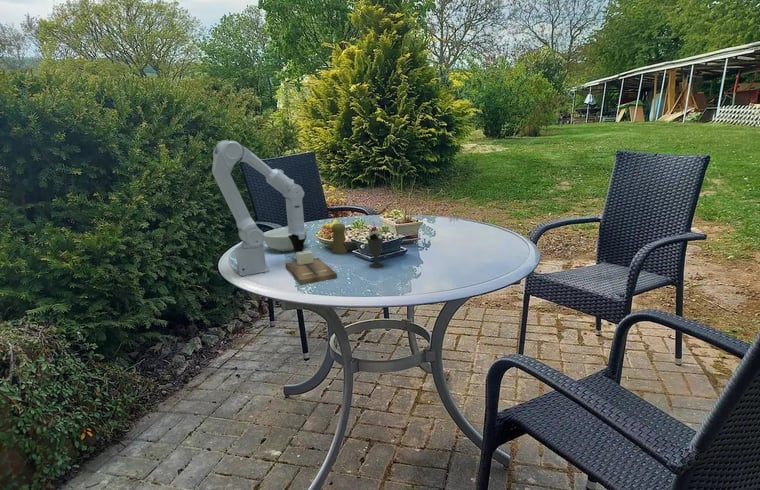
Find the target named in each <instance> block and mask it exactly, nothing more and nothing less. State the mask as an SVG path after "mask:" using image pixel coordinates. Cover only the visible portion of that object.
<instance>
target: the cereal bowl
mask: <svg viewBox="0 0 760 490" xmlns="http://www.w3.org/2000/svg"><path fill="white" fill-rule="evenodd" d="M307 232H308V231H305V236H306V239H305V241H304V243H305V242H306V240H307V234H308V233H307ZM263 233H264V241H263V242H264V243H265V245H266V246H267V247H268V248H271V249H274V250H276V251H278V252H290V251H294V248H293V245H292V242H291V240H290V239H289V237H288V236H289V235H292V234H290V233H288V227H282V228H274V229H272V230H268V231H266V232H263Z"/></svg>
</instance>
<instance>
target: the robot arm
mask: <svg viewBox="0 0 760 490" xmlns="http://www.w3.org/2000/svg"><path fill="white" fill-rule="evenodd" d="M212 153H213V154H212V155H213V159H212V167H211V173H212V175H213V177H214V180H215V181H216V183H217V186H218V188H219V189H220V191H221V192H220V193H221V194H222V195H223V197H224V199H225V202H226V204H227V206H228V207H229V210H230V212H231V213H232V215H233V218H234V220H235V222H236V227H237V228H238V229H237V230H238V236H239V239H240V240H241V241H242V242H241V246H239V247H235V250H234V252H235V260H236V269H237V272H238V273H239V275H240V277H243V276H250V275H255V274H261V273H266V272H269V271H270V270H269V268H268V266H267V264H266V256H265V255H266V254H265V245H264V242H265V241H264V233H265V232H264V231H263V230H262V229H260V228H259V227H258V226H257V223H256V222H255V221H254V219H253V218H252V217H251V215H250V212H249V209H248V208H247V206H246V203H245V202H244V200H243V198H242V196H241V194H240V193H241V192H239V191H240V190H239V189H238V187H237V185H236V182H235V181H234V179H233V177H232V174H231V173H232V170H233V169H234V166H235V165H236V163H238V162H243V163H246V164H248V165H249V166H250V167H252V168H253V169H255V170H256V171H257V172H259V173H260V174H261V175H263V176H264V177H265V181H266V183H267V184H268V185H270V186H271V187H273V188H274V189H275V190H276V191H278V193H280V194H281V195H282V196H283V197H284V198H285V208H286V218H287V219H286V220H287V228H288V233H290V234H292V235H289V236H288V237H289V239H290V240H291V242H292V245H293V248H294V250H293V251H294V254H295V255H296V252H302V251H304V244H305V242H306V240H307V237H306V236H305V231H307V232H308V231H309V229H308V227H305V215H304V205H303V198H304V197H305V191H304V189H303V187H302V186H301V185H299V184H297V183H295V180H294V179H292V178H290V177H288V176H287V175H286V174H284V173H285V171H283V170H282V169H278V168H274V169H273V168H271V167H270V166H269V165H267V164H266V163H265V162H264V161H263V160H261V159H260V158H259V157H258V156H257V155H256V154H254V153H253V152H252V151H251V150H250V149H248V148H247V147H245V146H243V145H241V144H240V143H239V142H238V141H235V140H227V139H226V140H225V139H223V140H220V141H219V142H218V143H217V144H216V146H215V147H214V149H213V152H212ZM305 239H306V240H305ZM304 241H305V242H304Z"/></svg>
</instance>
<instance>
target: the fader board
mask: <svg viewBox="0 0 760 490" xmlns="http://www.w3.org/2000/svg"><path fill="white" fill-rule="evenodd" d="M284 264H285V268H286V269H287V271H288V272H289V273H290V275H292V277H293V278H294V279H295V280H296V282H298V284H299V285H300V286H301V285H306V284H312V283H318V282H323V281H328V280H334V279H338V274H337V272H336V271H334V270H333V269H332V268H331V267H330V266H329V265H328V264H326V263H325V262H324V261H323V260H322V259H320V258H319V257H316V258H314V257H313V263H309V264H303V265H298V264H297V260H296V261H291V262H285V263H284Z"/></svg>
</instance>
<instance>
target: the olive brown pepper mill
mask: <svg viewBox="0 0 760 490" xmlns="http://www.w3.org/2000/svg"><path fill="white" fill-rule="evenodd" d="M345 231H346V226H345V224H343V223H333V224H332V226H331V232H332V248H331V253H332V254H334V255H343V254H347V253H348V252H347V250H348V249H347V250H346V249H345V246H344V245H343V244H342V243H343V242H344V241H345V240H346V236H345V235H346V234H345ZM346 252H347V253H346Z"/></svg>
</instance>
